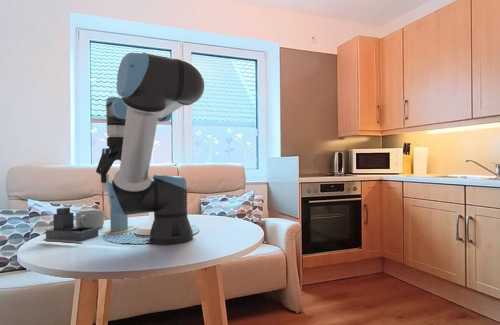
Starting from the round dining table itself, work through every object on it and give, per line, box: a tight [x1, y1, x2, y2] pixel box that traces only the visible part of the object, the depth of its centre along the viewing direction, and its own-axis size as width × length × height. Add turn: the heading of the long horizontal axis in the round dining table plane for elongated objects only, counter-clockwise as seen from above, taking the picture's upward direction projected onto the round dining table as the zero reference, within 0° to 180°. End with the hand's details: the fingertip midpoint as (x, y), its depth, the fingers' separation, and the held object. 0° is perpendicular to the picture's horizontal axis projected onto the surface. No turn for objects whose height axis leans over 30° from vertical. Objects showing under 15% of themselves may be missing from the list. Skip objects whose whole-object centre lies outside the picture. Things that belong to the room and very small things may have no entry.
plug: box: [109, 209, 129, 231], centre depth 124 cm, size 4×4×11 cm
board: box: [98, 226, 135, 235], centre depth 124 cm, size 12×12×1 cm
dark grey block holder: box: [45, 206, 99, 245], centre depth 114 cm, size 16×8×12 cm, turn 72°
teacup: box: [75, 209, 106, 230], centre depth 128 cm, size 14×11×8 cm
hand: (118, 189), depth 124 cm, fingers open, 13 cm apart
